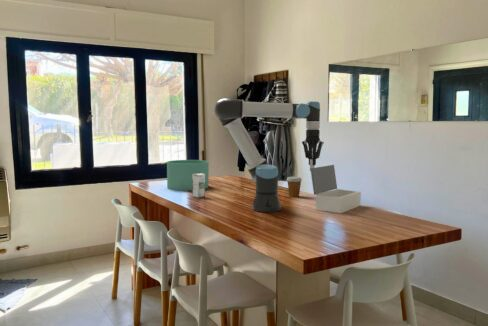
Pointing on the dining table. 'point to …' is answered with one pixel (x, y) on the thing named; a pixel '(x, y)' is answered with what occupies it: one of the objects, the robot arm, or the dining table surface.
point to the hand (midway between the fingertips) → (312, 170)
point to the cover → (323, 179)
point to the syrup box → (198, 185)
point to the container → (185, 173)
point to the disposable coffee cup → (294, 186)
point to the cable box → (338, 200)
